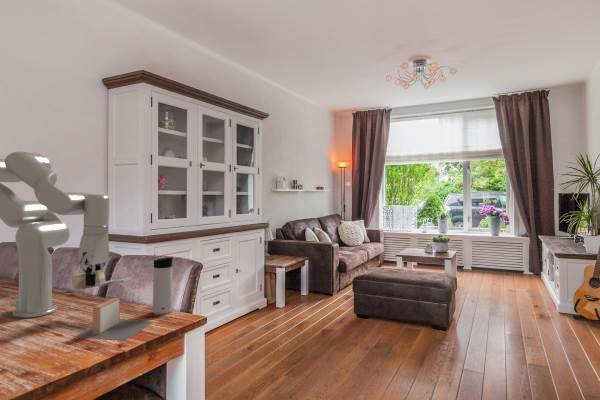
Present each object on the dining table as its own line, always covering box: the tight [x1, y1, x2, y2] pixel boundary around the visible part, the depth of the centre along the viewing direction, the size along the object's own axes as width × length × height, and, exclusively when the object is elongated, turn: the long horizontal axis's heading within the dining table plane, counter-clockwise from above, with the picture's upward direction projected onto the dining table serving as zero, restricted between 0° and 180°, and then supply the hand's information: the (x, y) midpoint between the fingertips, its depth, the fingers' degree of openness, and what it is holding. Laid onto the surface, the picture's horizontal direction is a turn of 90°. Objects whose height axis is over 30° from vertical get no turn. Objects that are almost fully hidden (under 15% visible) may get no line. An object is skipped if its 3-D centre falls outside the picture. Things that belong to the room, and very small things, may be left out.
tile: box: [92, 297, 121, 335], centre depth 116 cm, size 2×10×8 cm, turn 173°
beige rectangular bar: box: [71, 269, 133, 291], centre depth 128 cm, size 19×5×5 cm, turn 83°
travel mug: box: [152, 256, 174, 316], centre depth 132 cm, size 6×7×20 cm
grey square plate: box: [73, 319, 154, 342], centre depth 115 cm, size 16×16×1 cm
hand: (93, 283), depth 128 cm, fingers closed on beige rectangular bar, 2 cm apart
